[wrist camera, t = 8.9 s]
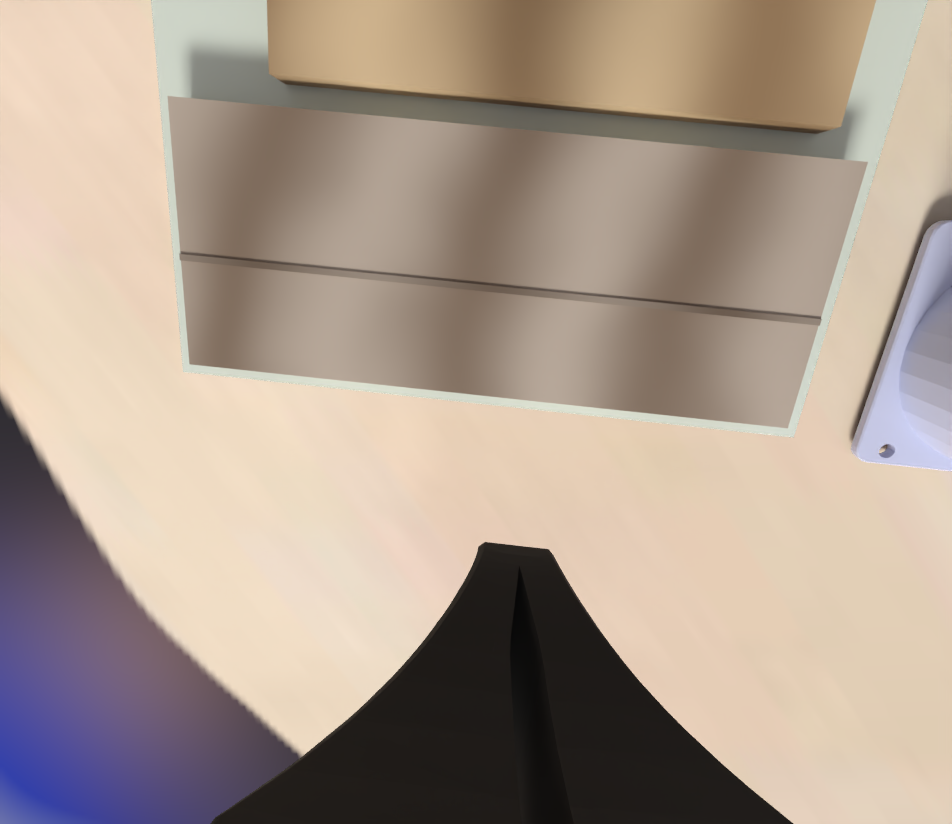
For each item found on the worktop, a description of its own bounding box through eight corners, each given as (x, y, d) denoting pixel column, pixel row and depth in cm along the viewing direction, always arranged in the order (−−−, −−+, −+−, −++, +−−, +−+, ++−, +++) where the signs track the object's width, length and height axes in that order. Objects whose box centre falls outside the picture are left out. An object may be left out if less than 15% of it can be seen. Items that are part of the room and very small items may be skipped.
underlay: (1021, -320, 13) (1028, -328, 13) (790, 435, 19) (793, 437, 19) (122, -384, 14) (116, -393, 13) (186, 370, 20) (183, 371, 20)
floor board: (843, 166, 16) (869, 161, 15) (771, 416, 19) (788, 428, 18) (190, 104, 17) (166, 95, 16) (208, 356, 19) (188, 364, 18)
